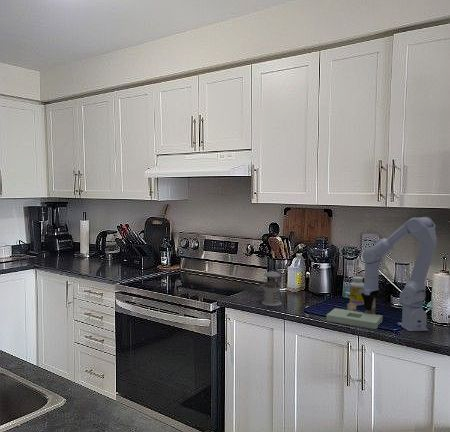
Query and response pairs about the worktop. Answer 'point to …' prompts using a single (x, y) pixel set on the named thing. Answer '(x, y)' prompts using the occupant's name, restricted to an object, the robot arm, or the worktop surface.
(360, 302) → the supplement bottle
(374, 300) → the tall dowel
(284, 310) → the worktop surface
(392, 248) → the robot arm
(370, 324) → the hole board
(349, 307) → the short stub
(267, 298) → the french press
